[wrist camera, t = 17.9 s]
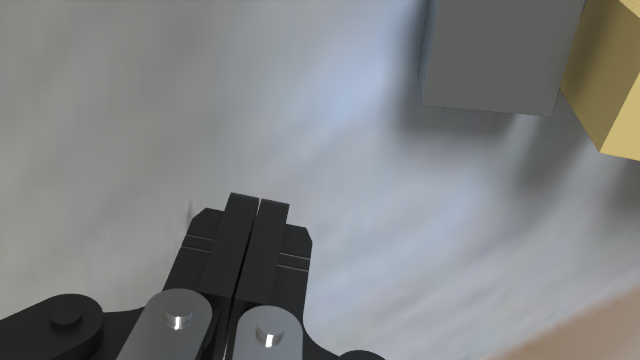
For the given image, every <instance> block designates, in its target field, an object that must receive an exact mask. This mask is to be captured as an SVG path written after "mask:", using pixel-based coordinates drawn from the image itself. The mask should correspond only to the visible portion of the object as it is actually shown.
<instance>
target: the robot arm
mask: <svg viewBox="0 0 640 360" xmlns="http://www.w3.org/2000/svg"><path fill="white" fill-rule="evenodd" d="M258 205H259V198H257V197H252V196H247V195H242V194H237V193H232V192H231V194H230V196H229V199H228V202H227V205H226V208H225V210H224V211H220V210H215V209H210V208H205V209H204V210H203V211H201V212H200V213H199V214H198V215H196V216H195V217H194V218H193V219H192V221H191V223H190V226H189V228H188V231H187V233H186V236H185V238H184V240H183V243H182V246H181V248H180V250H179V252H178V255H177V257H176V259H175V262H174V264H173V267H172V269H171V271H170V274H169V276H168V279H167V281H166V283H165V286H164V288H163V290H162V292H160V293H158V294H156V295H155V296H153V297H152V298H151V299H150V300H149V301H148V303H147V304H146V306H144V307H141V308H139V309H135V310H131V311H121V312H106V313H103V311H102V308H101V307H100V305H99V304H98V303H97V302H96V301H95V300H93V299H91V298H90V297H87V296H84V295H80V294H62V295H57V296H54V297H51V298H48V299H46V300H44V301H42V302H40V303H37V304H35V305H33V306H31V307H29V308H26V309H24V310H22V311H20V312H18V313H15V314H13V315H11V316H9V317H7V318H4V319H2V320H0V360H223V357H224V353H225V349H226V345H227V349H226V355H225V360H385V359H384V358H382V357H381V356H379V355H377V354H375V353H372V352H369V351H364V350H354V351H349V352H346V353H344V354H343V355H341V356H340V357H339V356H337V355H335V354H333V353H331V352H329V351H327V350H325V349H323V348H322V347H320V346H319V345H317V344H316V343H315V342H314V341H313V340H312V339H311V338H310V337H309V335H308V334H307V332H306V330H305V328H304V325H303V311H304V304H305V296H306V289H307V281H308V272H309V266H310V258H311V251H312V240H311V238H310V236H309V233H308V231H307V229H306V228H305V227H300V226H295V225H290V224H286V220H287V215H288V210H289V205H290V204H287V203H282V202H277V201H272V200H267V199H261V203H260V206H259V210H258ZM257 211H258V214H257ZM227 341H228V342H227Z"/></svg>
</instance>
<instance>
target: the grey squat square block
mask: <svg viewBox="0 0 640 360" xmlns="http://www.w3.org/2000/svg"><path fill="white" fill-rule="evenodd" d="M584 2H585V0H428V6H427V13H426V20H425V26H424V33H423V40H422V46H421V53H420V60H419V66H418V78H419V85H420V92H421V100H422V106H432V107H444V108H456V109H468V110H480V111H492V112H503V113H515V114H527V115H539V116H552V112H553V109H554V105H555V102H556V98H557V95H558V91H559V88H560V85H561V81H562V78H563V74H564V71H565V67H566V64H567V60H568V57H569V54H570V50H571V47H572V43H573V40H574V36H575V33H576V30H577V26H578V23H579V19H580V16H581V12H582V9H583V5H584Z"/></svg>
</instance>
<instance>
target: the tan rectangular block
mask: <svg viewBox="0 0 640 360" xmlns="http://www.w3.org/2000/svg"><path fill="white" fill-rule="evenodd" d="M560 90H561V92H562V93H563V95H564V97H565V98H566V100H567V101H568V103H569V105H570V106H571V108H572V110H573V111H574V113H575V114H576V116H577V118H578V119H579V121H580V122H581V124H582V126H583V127H584V129H585V131H586V132H587V134H588V135H589V137H590V139H591V140H592V142H593V143H594V145H595V147H596V148H597V150H598V152H599V153H604V154H609V155H614V156H619V157H624V158H629V159H633V160H638V161H640V0H587V2H586V4H585V7H584V9H583V12H582V14H581V16H580V19H579V23H578V26H577V30H576V33H575V36H574V40H573V43H572V47H571V50H570V54H569V57H568V60H567V64H566V67H565V71H564V74H563V78H562V81H561V85H560Z"/></svg>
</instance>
